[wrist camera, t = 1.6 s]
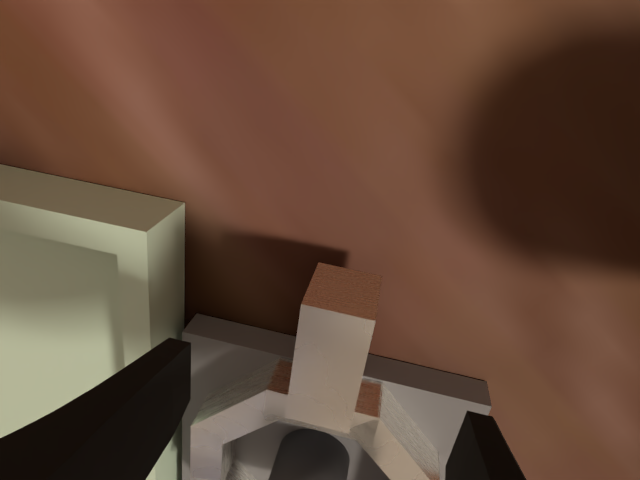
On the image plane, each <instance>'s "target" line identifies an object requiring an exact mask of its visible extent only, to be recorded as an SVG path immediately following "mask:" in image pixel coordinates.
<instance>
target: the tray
mask: <svg viewBox="0 0 640 480" xmlns="http://www.w3.org/2000/svg"><path fill="white" fill-rule="evenodd" d="M184 302H185V203H184V202H179V201H175V200H170V199H165V198H160V197H155V196H151V195H146V194H141V193H136V192H131V191H127V190H122V189H117V188H112V187H107V186H103V185H98V184H93V183H88V182H83V181H79V180H74V179H69V178H64V177H59V176H55V175H50V174H45V173H40V172H36V171H31V170H26V169H21V168H16V167H12V166H7V165H2V164H0V438H2V437H4V436H6V435H8V434H10V433H12V432H14V431H16V430H18V429H20V428H22V427H24V426H26V425H28V424H30V423H32V422H34V421H36V420H38V419H40V418H42V417H44V416H45V415H47V414H49V413H51V412H53V411H55V410H56V409H58V408H60V407H62V406H63V405H65V404H67V403H68V402H70V401H72V400H73V399H75V398H77V397H79V396H80V395H82V394H84V393H85V392H87V391H89V390H90V389H92V388H94V387H95V386H97V385H98V384H100V383H101V382H103V381H105V380H106V379H108V378H109V377H111V376H112V375H114V374H115V373H117V372H118V371H120V370H122V369H123V368H125V367H126V366H128V365H129V364H131V363H132V362H134V361H135V360H136V359H138V358H139V357H141V356H142V355H144V354H145V353H147V352H148V351H150V350H151V349H153V348H154V347H156V346H157V345H159V344H160V343H162V342H163V341H165V340H166V339H168V338H174V339H178V340H182V332H183V330H184ZM146 480H182V419H181V421H180V423H179V425H178V427H177V429H176V431H175V433H174V435H173V437H172V438H171V440H170V442H169V443H168V445H167V447H166V448H165V450H164V451H163V453H162V455H161V456H160V458H159V459H158V461H157V462H156V464H155V466H154V467H153V469H152V470H151V472H150V474H149V475H148V477H147V478H146Z"/></svg>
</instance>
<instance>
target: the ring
mask: <svg viewBox="0 0 640 480" xmlns="http://www.w3.org/2000/svg"><path fill="white" fill-rule="evenodd" d="M381 280H382V276H380V275H375V274H370V273H366V272H361V271H356V270H352V269H347V268H343V267H338V266H333V265H329V264H324V263H319V262H318V265H317V267H316V270H315V272H314V274H313V277H312V279H311V281H310V284H309V286H308V289H307V291H306V293H305V296H304V298H303V301H302V303H301V308H300V315H299V322H298V329H297V336H296V343H295V350H294V357H293V361H292V360H287V359H283V358H279V359H277V360H275V361H273V362H271V363H269V364H267V365H265V366H263V367H261V368H259V369H257V370H255V371H253V372H251V373H249V374H247V375H245V376H243V377H241V378H239V379H237V380H235V381H233V382H231V383H229V384H228V385H226V386H224V387H222V388H220V389H218V390H216V391H214V392H212V393H209V394H208V396H207V398H206V400H205V401H204V403H203V405H202V407H201V408H200V410H199V412H198V414H197V416H196V417H195V419H194V421H193V423H192V424H191V426H190V427H191V446H190V480H256V479H255V478H254V477H253V476H252V475H251V474H250V473H249V472H248V471H247V470H246V469H245V467H244V466H243V465H242V464H241V463H240V462H239V461H238V460H237V459H236V458H235V445H236V438H239V437H241V436H243V435H246V434H248V433H250V432H252V431H255V430H257V429H259V428H262V427H264V426H266V425H268V424H271V423H273V422H275V421H278V420H279V421H283V422H287V423H291V424H295V425H299V426H303V427H307V428H310V429H314V430H318V431H322V432H326V433H330V434H334V435H337V436H341V437H345V438H349V439H353V440H357V441H358V443H359V444H360V445H361V446H362V447H363V448H364V450H365V451H366V452H367V453H368V454H369V455H370V457H371V458H372V459H373V460H374V461H375V462H376V464H377V465H378V466H379V467H380V468H381V469H382V471H383V472H384V473H385V474H386V475H387V476H388V478H389V479H390V480H440V465H439V452H438V451H437V450H436V449H435V448H434V446H433V445H432V444H431V443H430V441H429V440H428V439H427V438H426V436H425V435H424V434H423V433H422V431H421V430H420V429H419V428H418V426H417V425H416V424H415V423H414V421H413V420H412V419H411V418H410V416H409V415H408V414H407V413H406V411H405V410H404V409H403V408H402V406H401V405H400V404H399V403H398V402H397V400H396V399H395V398H394V397H393V395H392V394H391V393H390V392H389V390H388V389H387V388H386V387H385V385H384V384H383V383H382V382H378V381H374V380H370V379H366V378H362V377H363V373H364V368H365V364H366V360H367V356H368V351H369V347H370V343H371V339H372V334H373V330H374V326H375V322H376V315H377V308H378V301H379V294H380V287H381Z"/></svg>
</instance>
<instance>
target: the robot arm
mask: <svg viewBox="0 0 640 480" xmlns="http://www.w3.org/2000/svg"><path fill="white" fill-rule="evenodd" d="M190 400H191V343H190V342H186V341H182V340H178V339H174V338H168V339H166V340H165V341H163V342H162V343H160V344H159V345H157V346H156V347H154V348H153V349H151V350H150V351H148V352H147V353H145V354H144V355H142V356H141V357H139V358H138V359H136V360H135V361H134V362H132V363H131V364H129V365H128V366H126V367H125V368H123V369H122V370H120V371H118V372H117V373H115V374H114V375H112V376H111V377H109V378H108V379H106V380H105V381H103V382H101V383H100V384H98V385H97V386H95V387H94V388H92V389H90V390H89V391H87V392H85V393H84V394H82V395H80V396H79V397H77V398H75V399H73V400H72V401H70V402H68V403H67V404H65V405H63V406H62V407H60V408H58V409H56V410H55V411H53V412H51V413H49V414H47V415H45V416H44V417H42V418H40V419H38V420H36V421H34V422H32V423H30V424H28V425H26V426H24V427H22V428H20V429H18V430H16V431H14V432H12V433H10V434H8V435H6V436H4V437H2V438H0V480H146V478H147V477H148V475H149V474H150V472H151V470H152V469H153V467H154V466H155V464H156V462H157V461H158V459H159V458H160V456H161V455H162V453H163V451H164V450H165V448H166V447H167V445H168V443H169V442H170V440H171V438H172V437H173V435H174V433H175V431H176V429H177V427H178V425H179V423H180V421H181V419H182V417H183V415H184V412H185V410H186V408H187V406H188V404H189V402H190ZM445 480H526V478H525V476H524V474H523V473H522V471H521V469H520V467H519V465H518V463H517V461H516V460H515V458H514V456H513V454H512V452H511V450H510V448H509V446H508V445H507V443H506V441H505V439H504V437H503V435H502V433H501V431H500V429H499V427H498V425H497V423H496V421H495V420H494V418H493V417H492V416H488V415H484V414H480V413H476V412H471V411H467V412H466V415H465V417H464V420H463V422H462V425H461V428H460V430H459V433H458V435H457V438H456V440H455V443H454V446H453V448H452V451H451V453H450V456H449V458H448V461H447V464H446V468H445Z"/></svg>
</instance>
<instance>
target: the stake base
mask: <svg viewBox="0 0 640 480" xmlns="http://www.w3.org/2000/svg"><path fill="white" fill-rule="evenodd" d="M182 341H186V342H190V343H191V400H190V402H189V404H188V406H187V408H186V410H185V412H184V415H183V417H182V480H190V446H191V427H190V426H191V424H192V423H193V421H194V419H195V417H196V416H197V414H198V412H199V410H200V408H201V407H202V405H203V403H204V401H205V400H206V398H207V396H208V394H209V393H212V392H214V391H216V390H218V389H220V388H222V387H224V386H226V385H228V384H229V383H231V382H233V381H235V380H237V379H239V378H241V377H243V376H245V375H247V374H249V373H251V372H253V371H255V370H257V369H259V368H261V367H263V366H265V365H267V364H269V363H271V362H273V361H275V360H277V359H279V358H283V359H287V360H292V361H293V357H294V350H295V343H296V337H295V336H291V335H287V334H283V333H278V332H274V331H270V330H266V329H261V328H257V327H253V326H249V325H244V324H240V323H236V322H232V321H228V320H223V319H219V318H215V317H211V316H206V315H202V314H198V313H196V315H195V316H194V317H193V319H192V320H191V321H190V323H189V324H188V325H187V326H186V328H185V329H184V330H183V332H182ZM362 378H366V379H370V380H374V381H378V382H382V383H383V384H384V385H385V387H386V388H387V389H388V390H389V392H390V393H391V394H392V395H393V397H394V398H395V399H396V400H397V402H398V403H399V404H400V405H401V406H402V408H403V409H404V410H405V411H406V413H407V414H408V415H409V416H410V418H411V419H412V420H413V421H414V423H415V424H416V425H417V426H418V428H419V429H420V430H421V431H422V433H423V434H424V435H425V436H426V438H427V439H428V440H429V441H430V443H431V444H432V445H433V446H434V448H435V449H436V450H437V451H438V452H439V465H440V480H445V468H446V464H447V461H448V458H449V456H450V453H451V451H452V448H453V446H454V443H455V440H456V438H457V435H458V433H459V430H460V428H461V425H462V422H463V420H464V417H465V415H466V412H467V411H471V412H476V413H480V414H484V415H488V414H489V412H490V409H491V407H492V406H491V401H490V396H489V391H488V386H487V382H486V381H481V380H477V379H473V378H469V377H464V376H460V375H456V374H452V373H447V372H443V371H439V370H435V369H431V368H426V367H422V366H418V365H414V364H409V363H405V362H401V361H397V360H392V359H388V358H384V357H380V356H376V355H371V354H368V356H367V360H366V364H365V368H364V373H363V377H362ZM235 458H236V459H237V460H238V461H239V462H240V463H241V464H242V465H243V466H244V467H245V469H246V470H247V471H248V472H249V473H250V474H251V475H252V476H253V477H254V478H255V479H256V480H390V479H389V478H388V476H387V475H386V474H385V473H384V472H383V471H382V469H381V468H380V467H379V466H378V465H377V464H376V462H375V461H374V460H373V459H372V458H371V457H370V455H369V454H368V453H367V452H366V451H365V450H364V448H363V447H362V446H361V445H360V444H359V443H358V441H357V440H353V439H349V438H345V437H341V436H337V435H334V434H330V433H326V432H322V431H318V430H314V429H310V428H307V427H303V426H299V425H295V424H291V423H287V422H283V421H279V420H278V421H275V422H273V423H271V424H268V425H266V426H264V427H262V428H259V429H257V430H255V431H252V432H250V433H248V434H246V435H243V436H241V437H239V438H236V445H235Z"/></svg>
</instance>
